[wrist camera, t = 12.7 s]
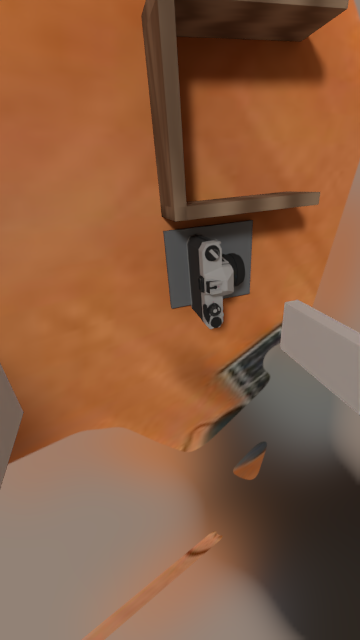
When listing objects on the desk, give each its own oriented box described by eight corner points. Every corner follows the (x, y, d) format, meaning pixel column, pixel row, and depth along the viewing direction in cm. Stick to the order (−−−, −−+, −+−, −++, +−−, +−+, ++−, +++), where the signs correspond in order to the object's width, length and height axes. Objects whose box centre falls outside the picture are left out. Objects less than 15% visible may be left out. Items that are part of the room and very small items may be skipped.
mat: (170, 307, 44) (171, 308, 43) (163, 231, 38) (164, 231, 38) (247, 292, 47) (249, 293, 46) (250, 220, 41) (252, 220, 41)
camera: (232, 304, 46) (261, 323, 38) (190, 316, 45) (211, 337, 37) (225, 226, 41) (257, 229, 33) (178, 236, 40) (199, 241, 32)
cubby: (161, 216, 37) (175, 221, 31) (141, 15, 28) (154, -32, 22) (285, 202, 42) (318, 204, 36) (302, 24, 33) (350, -13, 27)
